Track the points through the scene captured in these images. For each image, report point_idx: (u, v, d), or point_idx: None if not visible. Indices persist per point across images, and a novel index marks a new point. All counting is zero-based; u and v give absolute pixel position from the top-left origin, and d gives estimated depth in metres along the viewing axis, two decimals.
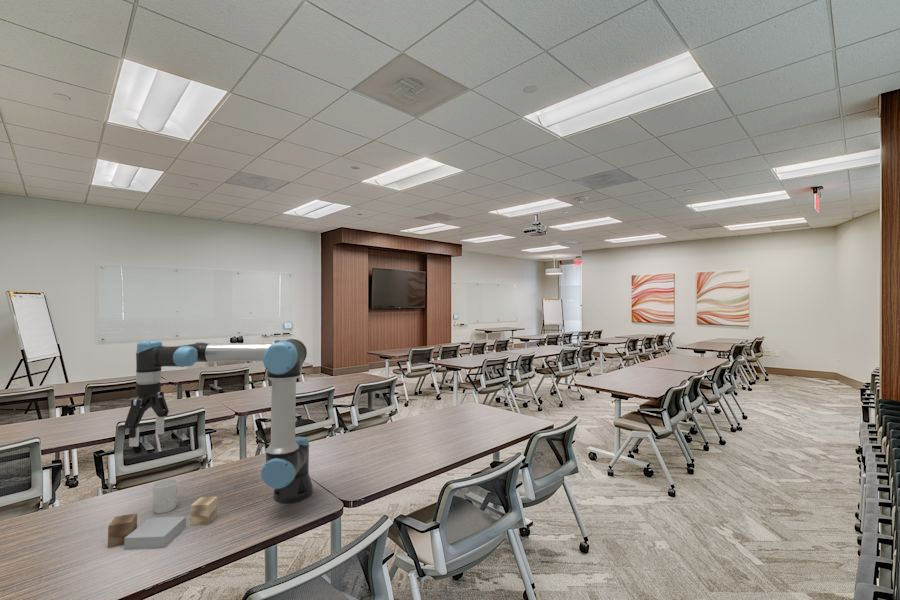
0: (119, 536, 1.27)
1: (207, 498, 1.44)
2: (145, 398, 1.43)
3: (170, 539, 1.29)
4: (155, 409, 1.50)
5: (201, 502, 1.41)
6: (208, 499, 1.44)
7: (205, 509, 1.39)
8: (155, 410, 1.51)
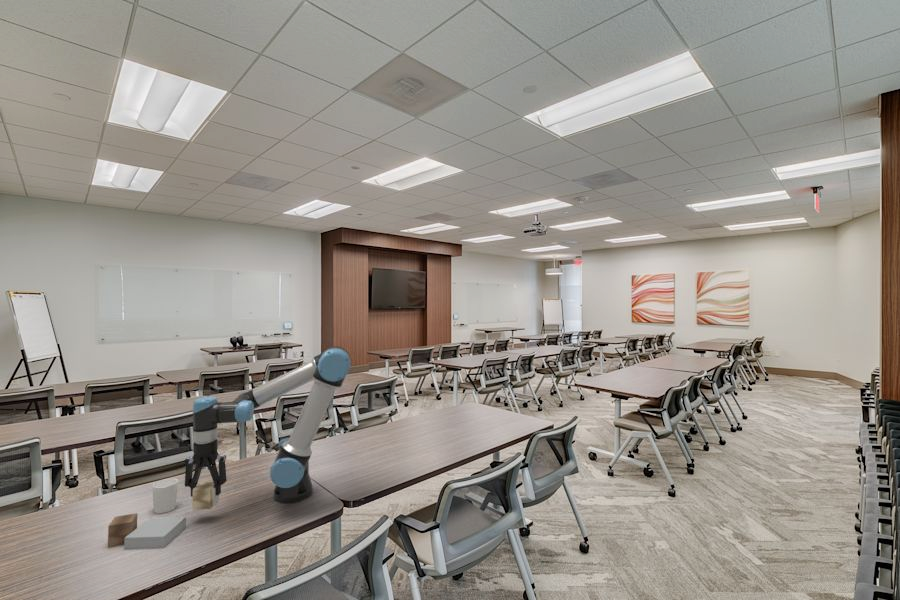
0: (119, 536, 1.27)
1: (208, 483, 1.44)
2: (194, 456, 1.41)
3: (170, 539, 1.29)
4: None
5: (202, 487, 1.41)
6: (209, 484, 1.44)
7: (206, 494, 1.40)
8: None
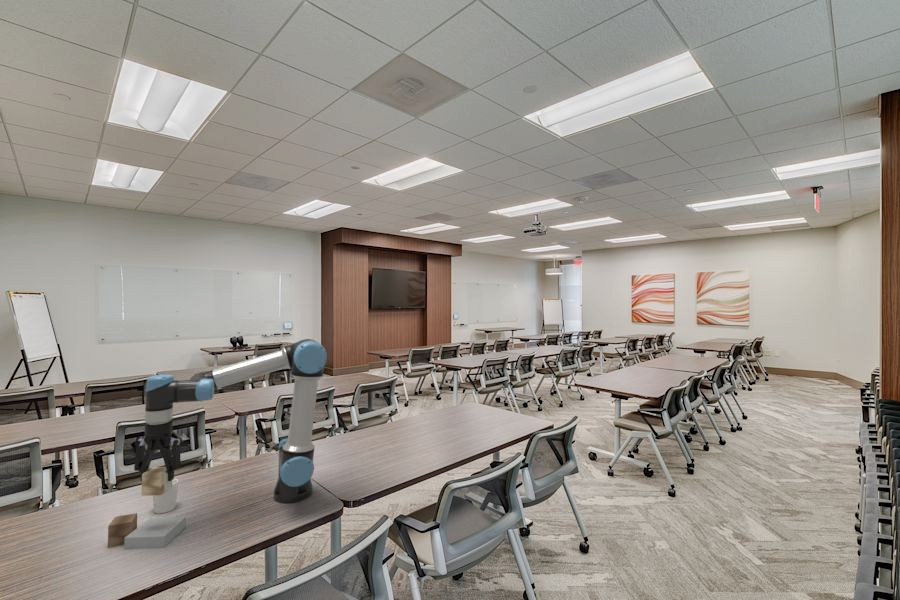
0: (119, 536, 1.27)
1: (161, 468, 1.34)
2: (146, 438, 1.31)
3: (170, 539, 1.29)
4: None
5: (153, 472, 1.30)
6: (162, 468, 1.33)
7: (157, 479, 1.29)
8: None
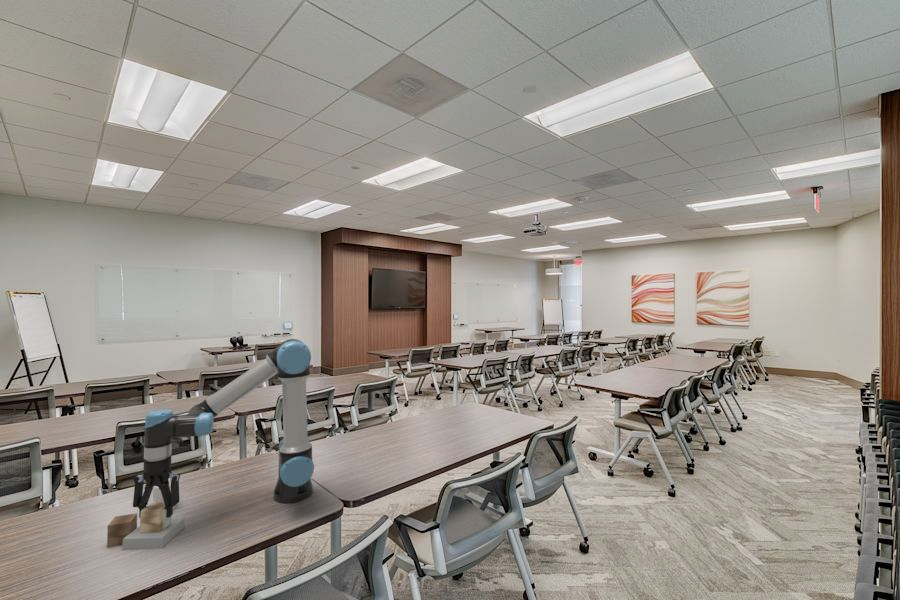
0: (119, 536, 1.27)
1: (159, 503, 1.33)
2: (144, 474, 1.30)
3: (168, 540, 1.29)
4: None
5: (152, 508, 1.30)
6: (161, 504, 1.33)
7: (155, 516, 1.29)
8: None
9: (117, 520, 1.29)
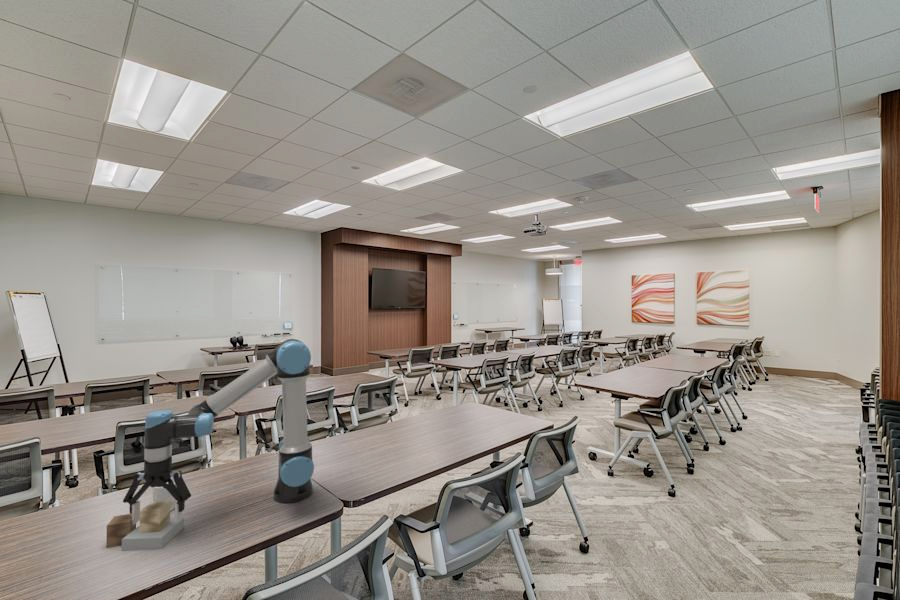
0: (118, 536, 1.27)
1: (158, 503, 1.33)
2: (146, 475, 1.30)
3: (167, 540, 1.29)
4: None
5: (151, 508, 1.30)
6: (160, 503, 1.33)
7: (155, 515, 1.29)
8: None
9: (116, 520, 1.29)
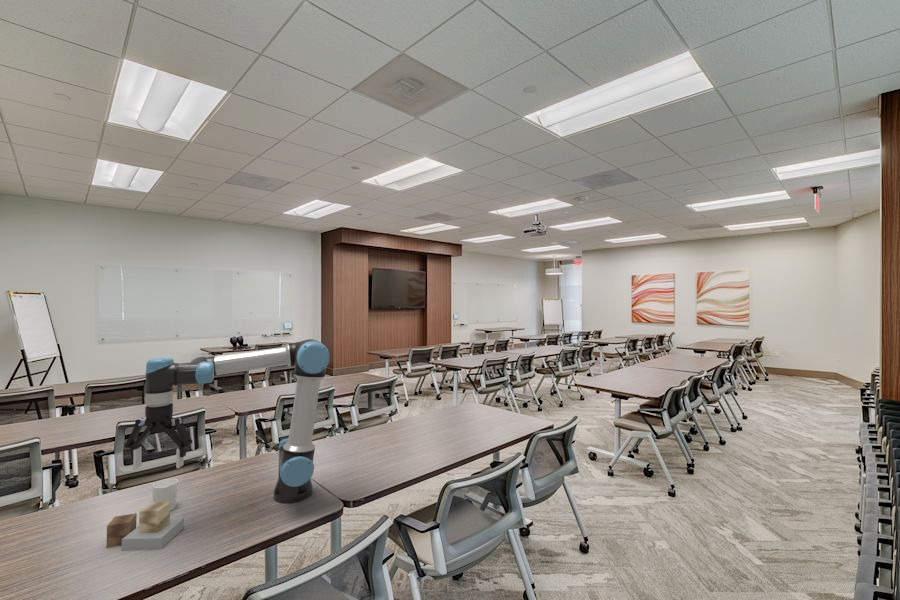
0: (118, 537, 1.27)
1: (158, 503, 1.33)
2: (147, 420, 1.31)
3: (167, 541, 1.28)
4: None
5: (151, 508, 1.30)
6: (160, 504, 1.33)
7: (154, 516, 1.28)
8: None
9: (116, 520, 1.29)
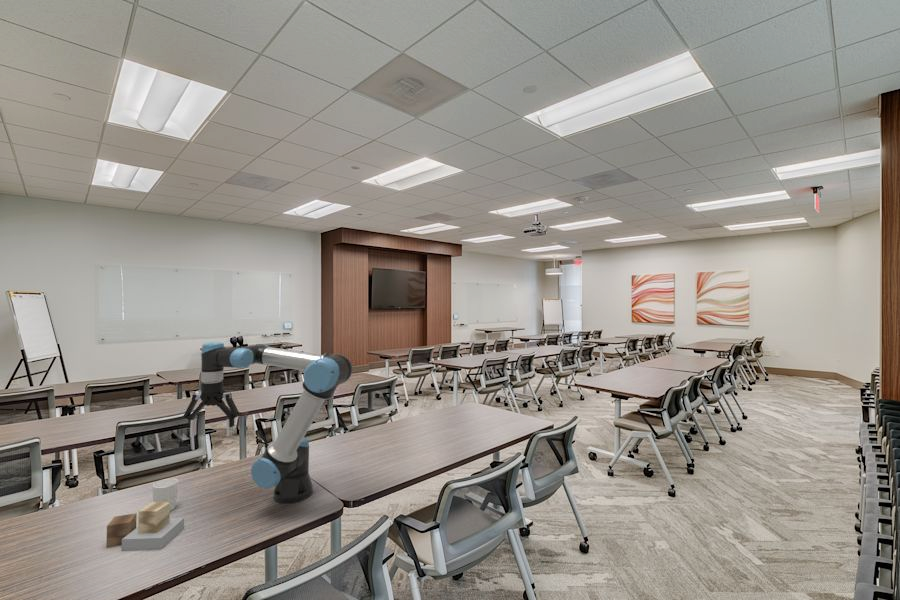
0: (118, 537, 1.27)
1: (158, 504, 1.33)
2: (202, 395, 1.53)
3: (167, 541, 1.28)
4: None
5: (150, 508, 1.30)
6: (159, 504, 1.32)
7: (153, 516, 1.28)
8: None
9: (116, 520, 1.29)
